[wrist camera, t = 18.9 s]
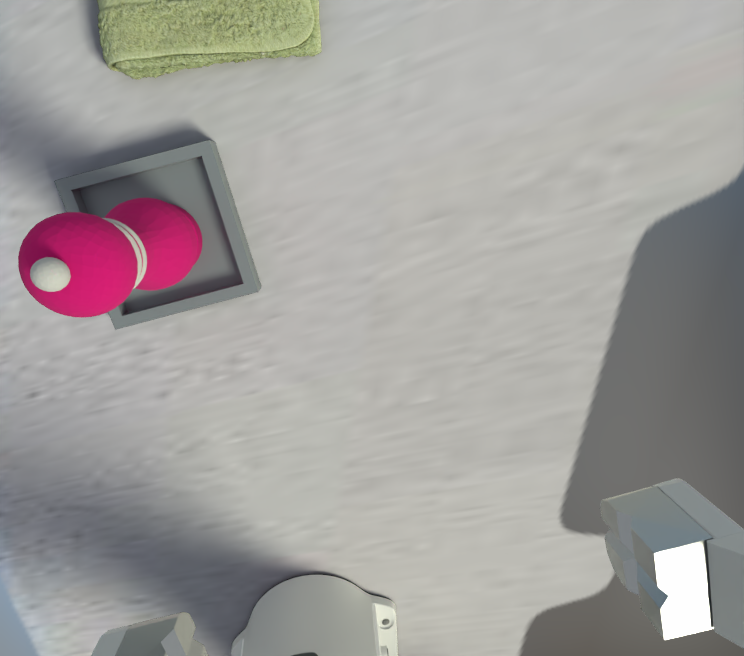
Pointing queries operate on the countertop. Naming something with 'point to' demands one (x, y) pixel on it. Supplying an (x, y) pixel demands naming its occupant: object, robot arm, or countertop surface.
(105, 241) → the pepper mill
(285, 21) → the washcloth
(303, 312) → the countertop surface
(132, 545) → the countertop surface
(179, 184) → the slate tray
